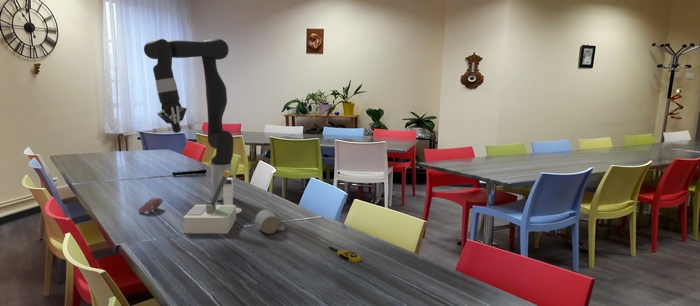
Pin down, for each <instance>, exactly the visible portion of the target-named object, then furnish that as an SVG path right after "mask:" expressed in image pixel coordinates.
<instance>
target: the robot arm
mask: <svg viewBox="0 0 700 306" xmlns="http://www.w3.org/2000/svg"><path fill="white" fill-rule="evenodd" d="M143 51H144V54H145V56H147V58H149V59H152V60H157V63H156V64H155V65H154V66H153V68H152V71H153V76H154V79H155V87H156V90H157V94H158V95H157V96H158V100H159V103H160V104H161V107H160V109H161V110H160V112H157V115H158V117H160V119H162V120H163V122H165V123H166V124H169V125H171V128H172V132H173V133H174V134H178V133H181V130H182V129H181V125H180V122H182V121H183V120H184V117H185V115H186V112H187V107H183V106H182V104H181V103H180V100H181V98H180V94H179V91H178V86H177V83H176V80H175V76H174V71H173V69H172V67H173V59H174V58H175V59H178V58H179V59H183V58H184V59H185V58H186V59H187V58H195V57H196V58H197V57H201V60H202V66H203V73H204V82H205V96H206V99H205V100H206V104H207V105H206V106H207V108H206V109H207V141H208V142H207V143H208V145H209V146H210V147H211V148H212V149H215V155H214V156H212V157H211V159H210V166H211V168H210V169H211V170H210V171H211V172H210V173H211V174H210V175H211V177H210V178H211V181H210V182H211V185H210V186H211V187H210V188H211V200H212V199H213V197H214V195H215V193H216V190H217V188H218V186H219V184H220V181H221V179H222V177H223V176H222V175H223V173H224V171H225V170H228V171H231V173H230V175H232V159H233V156H234V136H233V134H232V133H231V132H230V131H227V130H224V129H223V116H224V113H225V111H226V107H227V104H228V95H227V94H228V93H227V87H226V84H225V83H224V80H223V79H222V78H221V75H220V74H219V72H218V68H217V67H218V66H217V60H223V59H226V58H227V56H228V55H229V52H230V51H229V45H228V43H227V42H226V41H224V39H222V38H221V39H220V38H210V39H204V40H203V41H194V40H193V41H191V40H175V39H174V40H170V41H168V40H166V39H164V38H157V39H155V40H150V41H148V42H146V43H145V44H144V46H143ZM222 199H223V193H222V191H221V193H220V196H219V198H218V200H217V201H222Z"/></svg>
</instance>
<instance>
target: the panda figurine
mask: <svg viewBox="0 0 700 306" xmlns="http://www.w3.org/2000/svg"><path fill="white" fill-rule="evenodd" d="M233 177H234V175H232V174H231V175H229V177H228V178H227V180H226V182H225V185H224V187H223V189H222V193H223V199H222V200H221V201H222V204H221V205H234V178H233ZM241 212H242V208H241V207H237V206H236V215H237V214H240V213H241Z"/></svg>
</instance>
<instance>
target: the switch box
mask: <svg viewBox="0 0 700 306" xmlns="http://www.w3.org/2000/svg"><path fill="white" fill-rule="evenodd" d="M211 202H212V200H211V201H209V202H208V204H195V205H194V206H193V207H192V208H191V209H190V210H189V211H188V212H187V213H186V214H185V215H184V216H183V221H182V222H183V224H182V225H183V234H229V232H230V231H231V229H232V227H233V226H234V224H235V222H236V220H237V214H236V207H237V204H233V205H223V204H216V205H215V207H214V209H213V205H210V204H211Z"/></svg>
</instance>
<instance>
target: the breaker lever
mask: <svg viewBox="0 0 700 306" xmlns="http://www.w3.org/2000/svg"><path fill="white" fill-rule="evenodd" d="M230 173H231V174H232V170H231V171H228V170H225V171H224V173H223V175H222V176H223V177H222V179H221V181H220V184H219V186H218V188H217V190H216V193H215V195H214V197H213V199H212V198H211V201H212V202H211V204H210V205H213V209H214V207H215V205H217V203H218V201H219V200H218V198H219V196H220V193H221V191H222V189H223V187H224V185H225V182H226V180H227V178H228V177H229V175H230Z"/></svg>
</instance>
